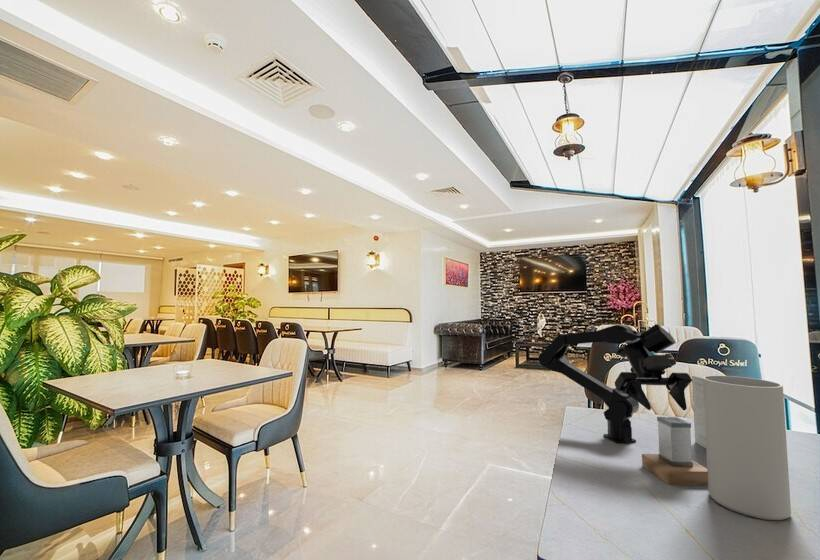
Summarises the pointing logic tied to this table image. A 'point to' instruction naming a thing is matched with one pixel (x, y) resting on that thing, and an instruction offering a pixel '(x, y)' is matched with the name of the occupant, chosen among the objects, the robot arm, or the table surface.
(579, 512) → the table surface
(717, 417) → the cylinder vase
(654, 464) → the stand
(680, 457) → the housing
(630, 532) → the table surface
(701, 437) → the hard drive box
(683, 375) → the robot arm
